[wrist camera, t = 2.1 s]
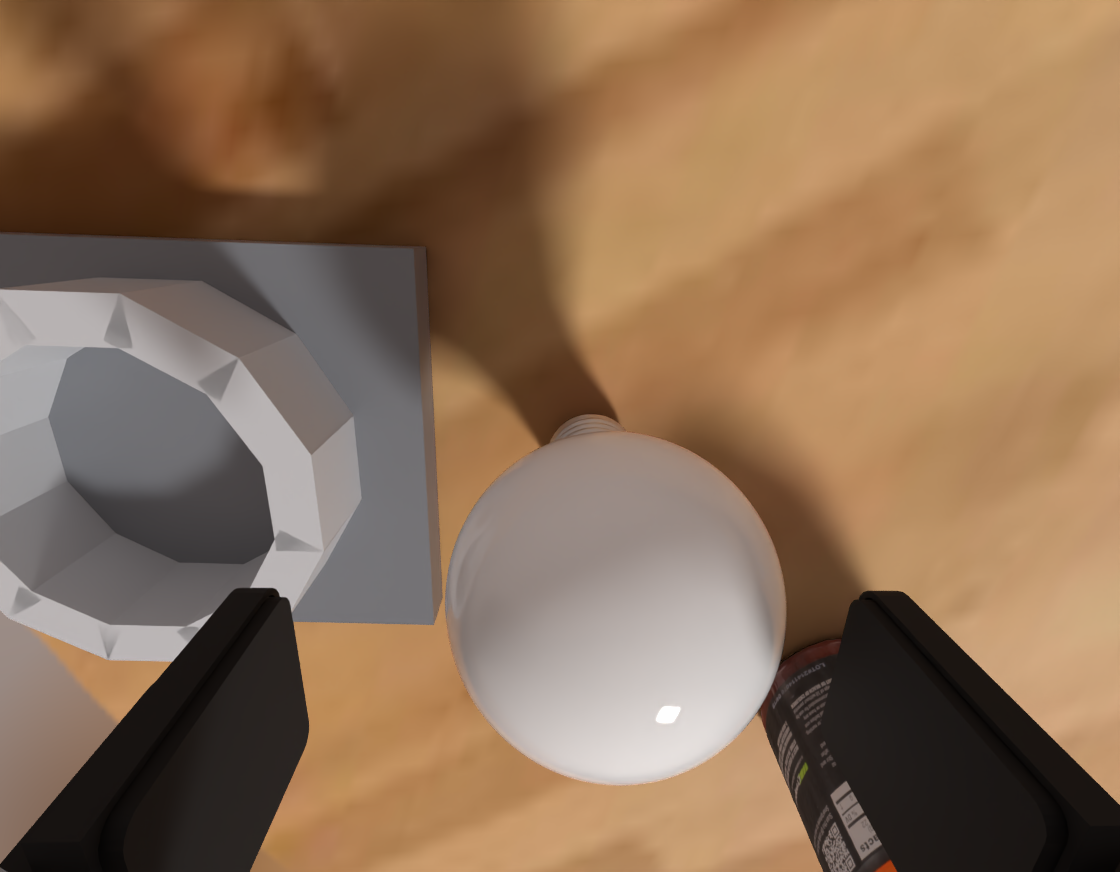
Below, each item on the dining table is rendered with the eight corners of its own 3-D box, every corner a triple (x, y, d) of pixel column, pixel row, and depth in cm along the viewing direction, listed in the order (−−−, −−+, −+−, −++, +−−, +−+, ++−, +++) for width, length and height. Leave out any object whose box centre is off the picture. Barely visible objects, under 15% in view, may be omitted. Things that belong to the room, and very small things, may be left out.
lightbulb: (501, 337, 17) (417, 507, 7) (706, 363, 17) (924, 565, 7) (483, 521, 19) (399, 860, 9) (666, 541, 20) (788, 892, 9)
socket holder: (425, 246, 16) (379, 253, 12) (442, 597, 20) (412, 694, 16) (-72, 229, 16) (-299, 230, 12) (48, 587, 20) (-87, 683, 16)
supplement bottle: (920, 724, 23) (1241, 1163, 12) (775, 764, 23) (958, 1213, 13) (895, 609, 21) (1252, 1014, 10) (737, 657, 21) (915, 1082, 11)
